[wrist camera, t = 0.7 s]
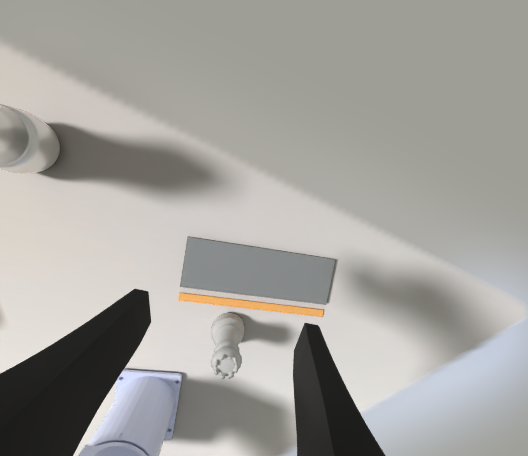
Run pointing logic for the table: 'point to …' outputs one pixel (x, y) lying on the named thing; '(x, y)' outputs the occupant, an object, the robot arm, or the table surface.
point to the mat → (256, 271)
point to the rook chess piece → (227, 344)
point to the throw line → (249, 304)
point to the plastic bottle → (25, 142)
